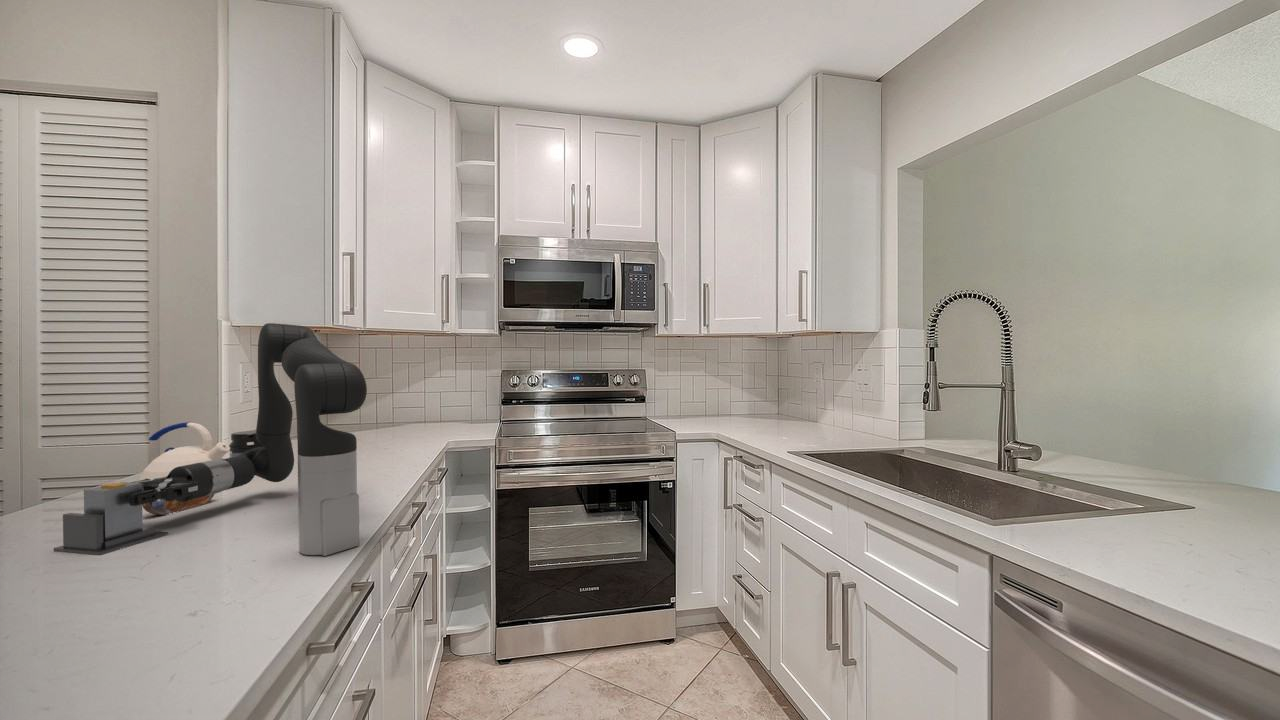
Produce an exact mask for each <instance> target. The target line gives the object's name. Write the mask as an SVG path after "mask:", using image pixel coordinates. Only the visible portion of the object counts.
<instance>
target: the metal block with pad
mask: <svg viewBox="0 0 1280 720" xmlns="http://www.w3.org/2000/svg"><path fill="white" fill-rule="evenodd" d="M139 492H142V483H130V482H129V481H128V482H126V481H125V482H124V481H123V482H122V481H121V482H110V483H106V484H100V486H96V487H91V488H86V489H83V514H92V515H103V542H106V541H110V540H113V539H117V538H120V537H124V536H127V535H131V534H134V533H138V532H141V531H143V530H144V529H143V525H144V524H143V506H142V504H141V505H137V506H130V504H129V496H130V495H131V494H135V493H139Z"/></svg>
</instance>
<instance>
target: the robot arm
mask: <svg viewBox="0 0 1280 720" xmlns="http://www.w3.org/2000/svg"><path fill="white" fill-rule="evenodd" d="M275 363H276V364H277V363H278V364H279V363H281V367H282V369H283V371H284V372H285V374H286V375H287V377H288V378H289V379H290V380H291V381H292V382H293V383H294V385H293V387H294V389H293V390H294V400H295V403H294V404H295V414H296V433H297V434H296V435H297V437H296V440H297V501H298V502H297V504H298V505H297V506H298V507H297V509H298V512H297V514H298V517H297V518H298V550H299V551H298V552H299V553H300V554H302V555H306V556H322V557H324V556H327V557H328V556H330V555H333V554H336V553H339V552H342V551H345V550H348V549H351V548H356V547H357V546H360V499H359V498H360V497H359V494H358V471H357V470H358V467H357V465H358V464H357V463H358V462H357V460H358V457H357V454H358V452H357V448H358V446H357V437H356V435H355V434H353V433H351V432H346V431H342V430H339V429H338V430H337V429H333V428H331V427H328V426H327V425H325V424H323V423H322V422H321V418H320V416H322V415H323V416H324V415H337V414H338V415H339V414H348V413H352V412H355V411H357V410H358V409H360V408H361V407H362V406H363V405H364V403H365V401H366V398H367V392H368V390H367V389H368V388H367V387H368V386H367V382H366V379H365V376H364V374H363V372H362V370H361V369H360V368H359V367H358V366H357V365H355V364H353V363H352V362H349V361H346V360H344V359H342V358H341V357H339V356H337V355H336V354H335V353H333V352H332V350H331V349H330V348H328V347H327V346H326V345H324V344H323V343H322V342H320V340H319V339H318V337H317V336H316V334H315V333H314V331H313V330H312V329H311V328H310V327H307V326H303V325H296V324H286V323H274V322H272V323H271V322H269V323H265V324H264V325H263V326H262V327H261V329H260V331H259V334H258V341H257V388H258V389H257V390H258V412H257V420H256V426H255V427H256V429H255V430H256V439H257V441H258V442H259V443H260V444H262V445H263V446H264V447H258V448H253V449H251V450H248V451H246V452H244V453H242V454H240V455H238V456H236V457H231V458H230V457H227V458H226V459H221V460H211V461H205V462H200V463H195V464H190V465H185V466H179V467H176V468H174V469H173V470H171V471H170V473H169V474H168V476H167V478H166V479H165V480H164V477H161V478H155V479H153V480H150V479H145V480H140V481H138V480H135V481H131V482H129V483H142V492H139V493H135V494H131V495H130V496H129V504H130V506H137V505H141V504H145V503H149V502H153V501H154V500H155V502H161V501H164V500H166V501H172V500H176V501H178V502H186V501H189V500H193V499H197V498H201V497H205V496H209V495H212V494H214V495H216V494H219V493H221V492H224V491H226V490H227V491H228V490H230V489H234V488H238V487H242V486H244V485H247V484H249V483H250V482H251V481H252V480H253V479H254V478H255V476H256V477H258V478H261V479H263V480H265V481H267V482H271V483H280V482H283V481H285V480H286V479H287V478H288V477H289V476H290V475H291V473H292V471H293V470H294V466H295V455H294V449H293V443H292V439H291V430H292V424H293V423H292V422H293V415H294V414H293V412H294V411H293V406H292V404H291V402H290V400H289V397H288V396H287V395H286V393H285V391H284V390H283V388H282V387H281V385H280V384H279V383H280V382H278V380H277V377H276V375H275V368H274V367H275Z"/></svg>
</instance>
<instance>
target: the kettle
mask: <svg viewBox="0 0 1280 720" xmlns="http://www.w3.org/2000/svg"><path fill="white" fill-rule="evenodd" d="M182 428H191V429H194V430H196V431H197V432H198V433H199V434H200V436H201V440H202V445H188V446H186V445H185V446H179V447H175V448H174V447H167V448H166V449H165V450H164V452H163V453H162V454H160V455H158V456H157V457H156V458H153V459H152V460H151V462H150V463H149V464H148V465H147V466H146V467H145V468H144V469H143V471H142V473H141V474H140V476H139V478H138V480H137V481H140V480H145V479H150V480H153V479H155V478H161V477H166V476H168V474H169V473H170V471H171V470H173V469H174V468H176V467H179V466H185V465H190V464H195V463H200V462H205V461H211V460H221V459H226V458H228V457H227V456H226V454H227V453H230V447H229V445H230V444H229V445H228V444H227V443H225V442H223V441H220V442H217V444H215V446H213V438H212V435H211V433H210V431H209V430H208V429H207V428H206V427H205V426H204V425H202V424H200V423H195V422H191V421H188V422H187V421H186V422H180V423H175V424H172V425H168V426H166V427H163V428H161V429H159V430H158V431H156V432H154V434H152V435H151V436H150V437H148V440H149V441H151V442H152V441H158V440H159V439H161V438H162V436H164V435H165V434H168V433H170V432H172V431H175V430H178V429H182Z"/></svg>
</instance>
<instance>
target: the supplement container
mask: <svg viewBox="0 0 1280 720" xmlns="http://www.w3.org/2000/svg"><path fill="white" fill-rule="evenodd" d="M230 440H231V442H230V443H229V447H230V451H229V458H231V457H236V456H238V455H240V454H242V453H244V452H246V451H248V450H251V449H253V448H258V447H264V446H263V445H262V444H260V443H259V442H258V441H257V439H256V429H255V430H244V431H237V432H232V433H230Z"/></svg>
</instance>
